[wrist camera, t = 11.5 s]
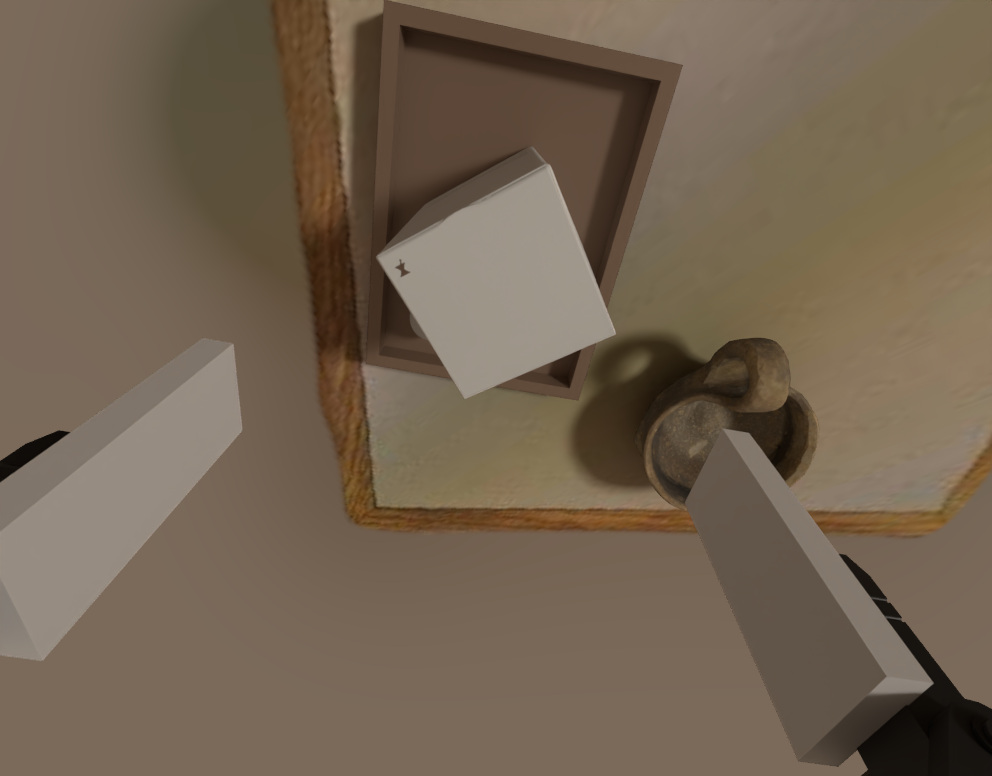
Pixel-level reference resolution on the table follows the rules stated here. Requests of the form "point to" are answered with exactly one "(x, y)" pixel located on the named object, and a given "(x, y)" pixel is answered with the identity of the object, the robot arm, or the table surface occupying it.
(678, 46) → the table surface
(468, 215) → the supplement box
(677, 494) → the bowl
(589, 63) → the tray
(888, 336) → the table surface
